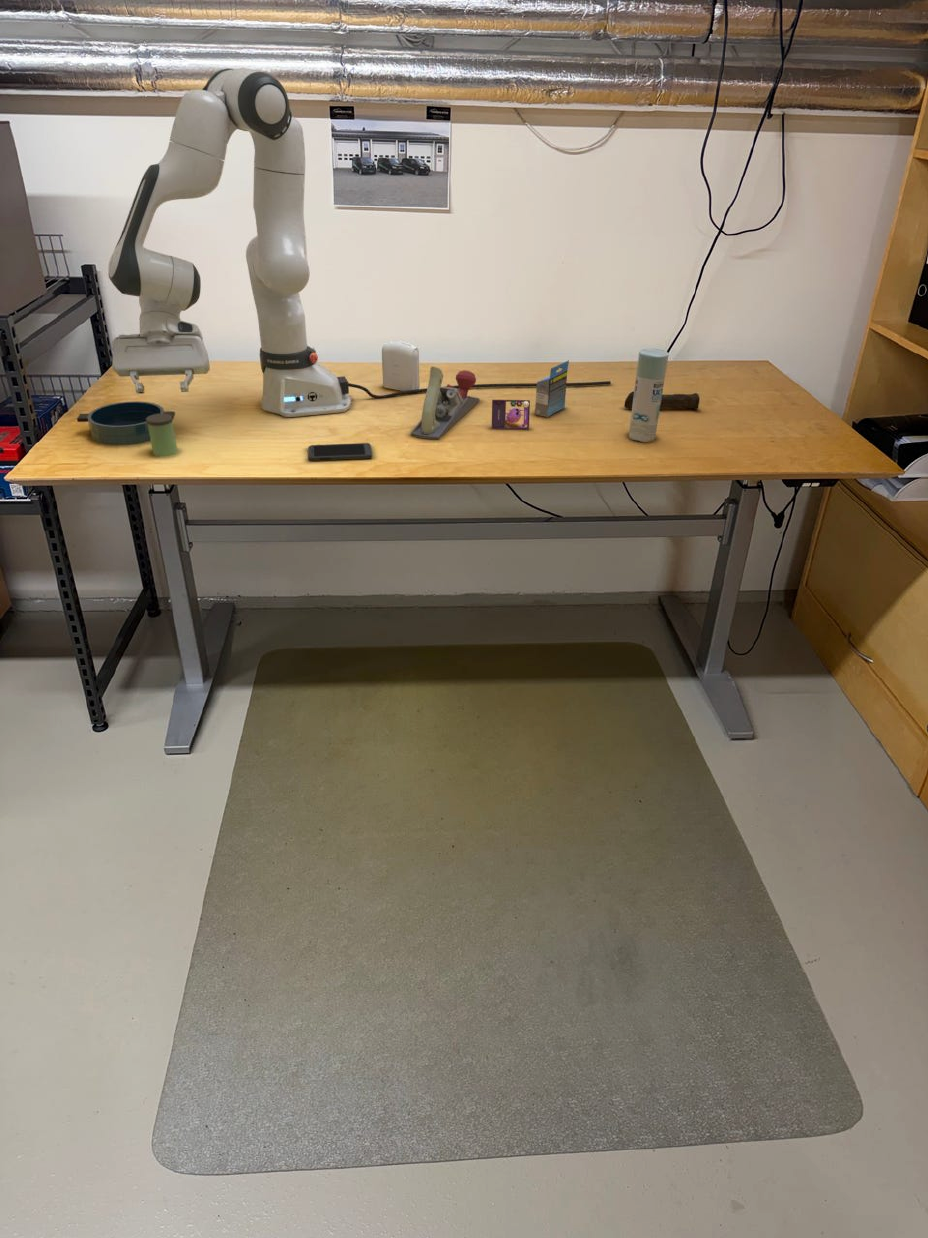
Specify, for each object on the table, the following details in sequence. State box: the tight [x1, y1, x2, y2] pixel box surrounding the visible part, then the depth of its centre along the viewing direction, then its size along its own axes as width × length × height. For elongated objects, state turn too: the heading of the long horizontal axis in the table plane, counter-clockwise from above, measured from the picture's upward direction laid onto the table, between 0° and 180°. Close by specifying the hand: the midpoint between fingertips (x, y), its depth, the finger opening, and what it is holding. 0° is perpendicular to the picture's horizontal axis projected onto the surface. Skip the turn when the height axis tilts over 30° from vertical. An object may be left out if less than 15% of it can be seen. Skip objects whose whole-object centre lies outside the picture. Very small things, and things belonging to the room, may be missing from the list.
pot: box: [87, 400, 166, 446], centre depth 198 cm, size 17×17×4 cm
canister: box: [146, 414, 178, 458], centre depth 188 cm, size 5×5×8 cm
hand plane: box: [410, 366, 480, 440], centre depth 208 cm, size 7×31×15 cm, turn 160°
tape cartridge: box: [534, 360, 570, 418], centre depth 214 cm, size 9×4×12 cm, turn 145°
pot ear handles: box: [76, 410, 176, 423], centre depth 197 cm, size 21×3×1 cm, turn 98°
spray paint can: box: [628, 348, 669, 443], centre depth 198 cm, size 6×6×20 cm
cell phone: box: [307, 442, 373, 462], centre depth 191 cm, size 7×14×1 cm, turn 99°
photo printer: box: [381, 340, 421, 392], centre depth 226 cm, size 10×4×12 cm, turn 63°
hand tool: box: [623, 390, 700, 411], centre depth 220 cm, size 19×4×5 cm, turn 92°
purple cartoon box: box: [491, 399, 531, 430], centre depth 207 cm, size 7×5×9 cm
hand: (162, 391), depth 188 cm, fingers open, 8 cm apart
